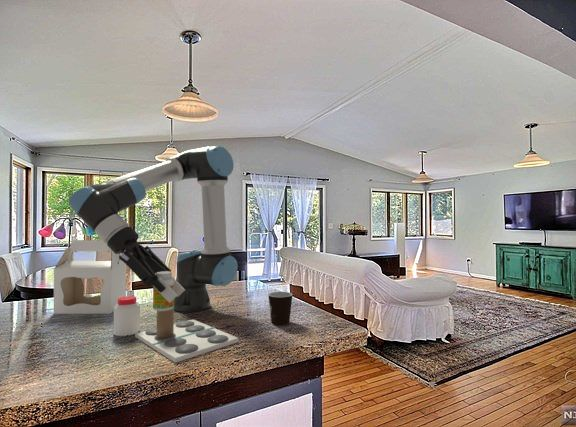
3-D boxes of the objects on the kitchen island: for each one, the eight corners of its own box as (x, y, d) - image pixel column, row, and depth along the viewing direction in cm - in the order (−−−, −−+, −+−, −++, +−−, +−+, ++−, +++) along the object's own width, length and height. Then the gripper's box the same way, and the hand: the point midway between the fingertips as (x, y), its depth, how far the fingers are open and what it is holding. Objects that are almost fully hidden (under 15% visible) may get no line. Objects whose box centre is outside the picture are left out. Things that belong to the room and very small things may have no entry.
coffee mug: (289, 327, 113) (290, 297, 113) (265, 325, 115) (265, 296, 115) (296, 317, 124) (296, 290, 125) (273, 315, 126) (273, 289, 126)
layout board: (135, 337, 104) (135, 306, 104) (193, 322, 118) (193, 295, 118) (175, 362, 85) (175, 325, 86) (238, 342, 100) (238, 310, 100)
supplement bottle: (151, 311, 87) (151, 274, 87) (154, 306, 92) (154, 271, 92) (173, 310, 88) (173, 273, 88) (174, 305, 94) (175, 270, 94)
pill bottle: (113, 337, 103) (113, 302, 103) (113, 330, 110) (113, 296, 110) (140, 333, 107) (140, 299, 107) (139, 326, 114) (139, 294, 114)
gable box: (126, 304, 142) (127, 239, 142) (111, 313, 129) (112, 241, 129) (73, 305, 141) (74, 239, 142) (52, 314, 128) (53, 241, 128)
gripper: (125, 241, 100) (179, 297, 100) (87, 247, 81) (153, 316, 81) (143, 224, 100) (197, 279, 99) (109, 226, 81) (175, 294, 81)
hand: (177, 296), depth 90 cm, fingers closed on supplement bottle, 5 cm apart
